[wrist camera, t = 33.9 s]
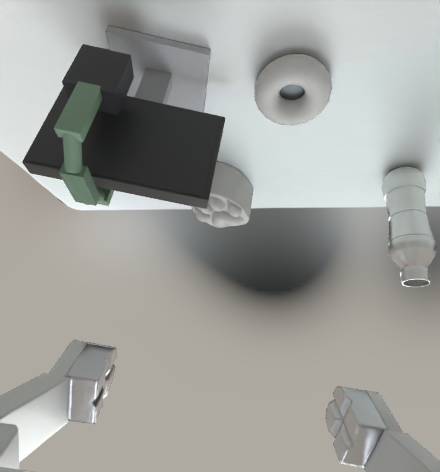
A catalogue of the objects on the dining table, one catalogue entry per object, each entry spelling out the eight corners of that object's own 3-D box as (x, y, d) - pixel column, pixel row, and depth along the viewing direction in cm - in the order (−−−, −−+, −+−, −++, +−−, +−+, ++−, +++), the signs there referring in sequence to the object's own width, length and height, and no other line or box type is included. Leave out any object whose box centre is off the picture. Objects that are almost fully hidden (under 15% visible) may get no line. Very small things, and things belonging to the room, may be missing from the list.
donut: (251, 107, 46) (317, 118, 46) (248, 124, 45) (316, 135, 44) (262, 41, 37) (345, 53, 37) (258, 59, 36) (345, 72, 35)
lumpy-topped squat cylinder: (217, 201, 71) (211, 235, 67) (184, 167, 62) (175, 204, 58) (258, 193, 66) (254, 229, 62) (229, 155, 56) (222, 194, 52)
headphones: (82, 43, 33) (27, 143, 27) (131, 54, 33) (86, 155, 27) (107, 132, 45) (73, 214, 39) (143, 139, 45) (114, 223, 39)
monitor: (79, 18, 38) (6, 141, 29) (237, 55, 39) (211, 183, 30) (98, 87, 47) (46, 196, 38) (226, 115, 48) (203, 227, 39)
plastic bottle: (375, 184, 57) (383, 287, 48) (389, 159, 51) (402, 272, 42) (412, 186, 56) (427, 292, 47) (431, 162, 50) (453, 278, 41)
